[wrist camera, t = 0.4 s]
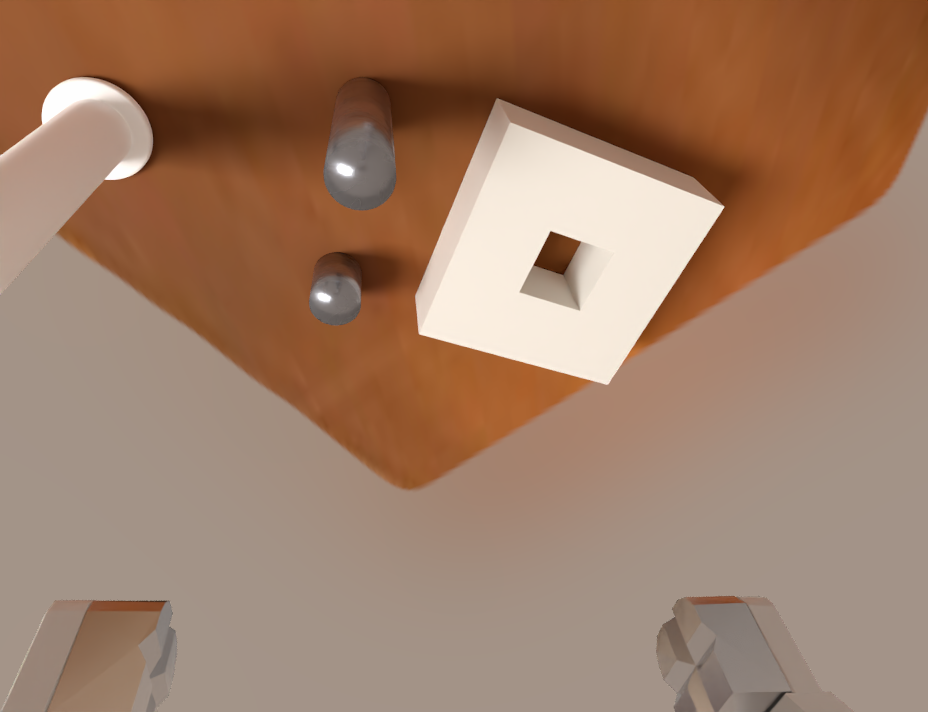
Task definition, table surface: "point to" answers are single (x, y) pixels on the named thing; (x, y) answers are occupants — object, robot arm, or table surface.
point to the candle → (66, 164)
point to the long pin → (361, 146)
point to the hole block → (570, 214)
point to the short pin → (336, 289)
